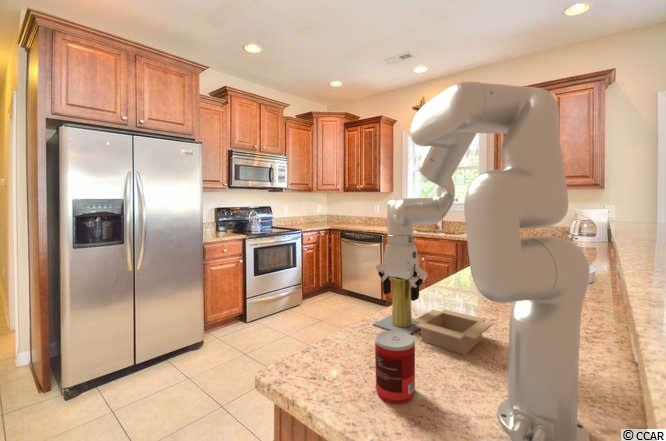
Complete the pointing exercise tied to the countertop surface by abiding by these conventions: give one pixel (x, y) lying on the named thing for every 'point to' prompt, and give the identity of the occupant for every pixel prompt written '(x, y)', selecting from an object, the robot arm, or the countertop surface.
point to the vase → (401, 303)
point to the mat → (388, 325)
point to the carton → (451, 330)
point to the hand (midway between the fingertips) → (400, 296)
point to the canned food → (395, 366)
